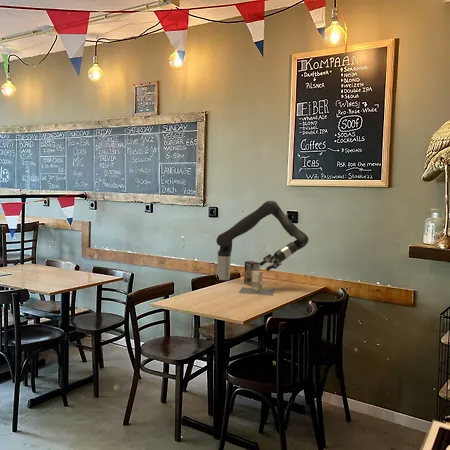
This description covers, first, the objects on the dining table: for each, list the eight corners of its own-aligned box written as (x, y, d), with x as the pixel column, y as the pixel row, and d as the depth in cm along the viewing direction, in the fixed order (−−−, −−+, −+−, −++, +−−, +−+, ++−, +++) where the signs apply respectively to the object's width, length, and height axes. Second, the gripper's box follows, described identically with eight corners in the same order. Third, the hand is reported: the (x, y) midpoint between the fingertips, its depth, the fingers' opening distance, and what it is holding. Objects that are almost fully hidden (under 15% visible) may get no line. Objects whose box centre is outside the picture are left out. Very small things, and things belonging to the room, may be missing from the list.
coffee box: (243, 284, 327) (244, 261, 326) (250, 283, 331) (251, 260, 330) (252, 286, 320) (253, 263, 318) (259, 285, 324) (260, 262, 322)
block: (256, 292, 303) (257, 272, 301) (252, 290, 306) (252, 271, 305) (262, 291, 305) (262, 271, 304) (257, 290, 309) (258, 270, 308)
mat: (238, 293, 299) (238, 293, 299) (242, 287, 316) (242, 287, 316) (272, 296, 296) (272, 295, 296) (274, 290, 312) (274, 289, 312)
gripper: (275, 245, 316) (256, 259, 313) (286, 253, 304) (266, 267, 301) (279, 254, 320) (260, 267, 317) (290, 262, 308) (270, 276, 304)
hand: (263, 267), depth 309 cm, fingers open, 8 cm apart
